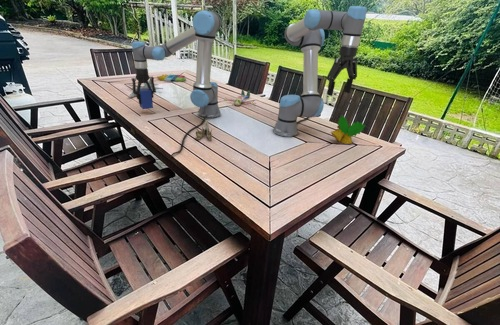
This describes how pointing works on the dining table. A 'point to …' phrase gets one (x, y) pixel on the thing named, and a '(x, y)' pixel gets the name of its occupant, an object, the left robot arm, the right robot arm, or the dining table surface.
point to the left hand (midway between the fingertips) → (145, 103)
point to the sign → (172, 78)
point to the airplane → (143, 87)
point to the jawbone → (204, 132)
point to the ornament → (347, 130)
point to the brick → (146, 98)
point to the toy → (241, 99)
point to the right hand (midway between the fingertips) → (338, 93)
